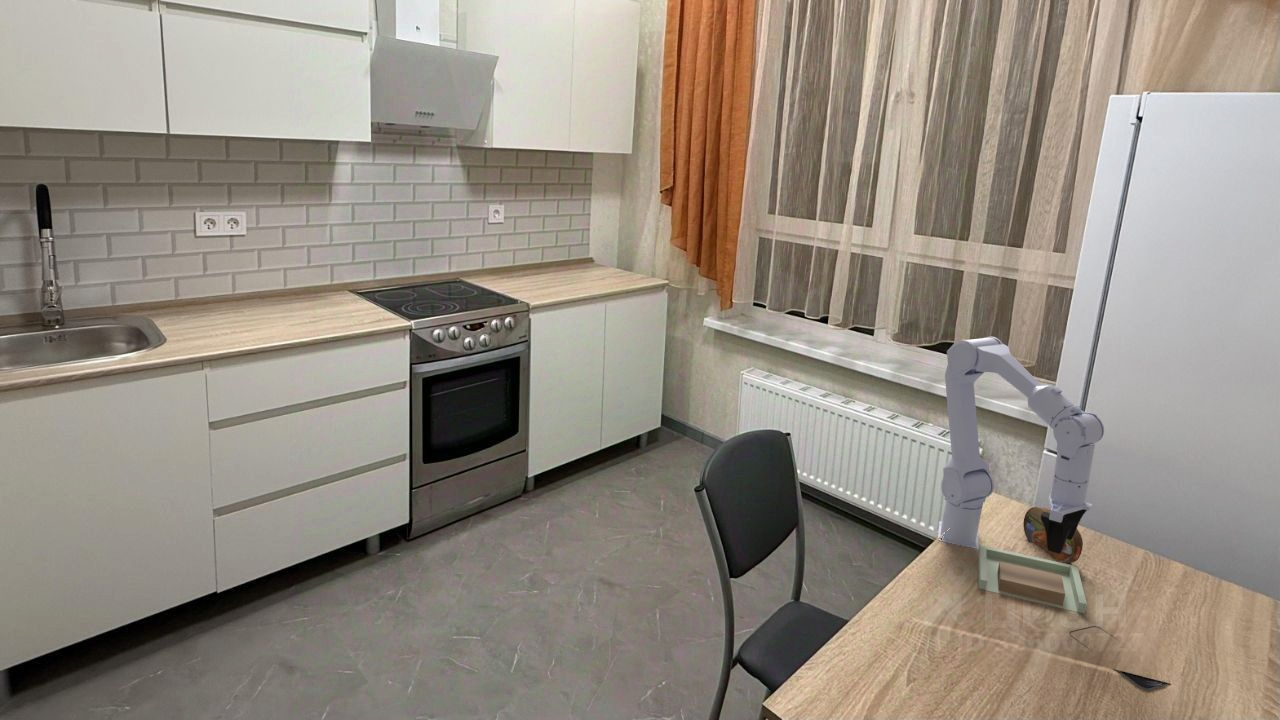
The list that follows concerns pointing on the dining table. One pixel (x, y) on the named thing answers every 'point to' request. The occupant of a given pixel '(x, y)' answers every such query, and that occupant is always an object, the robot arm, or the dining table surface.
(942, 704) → the dining table surface
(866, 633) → the dining table surface
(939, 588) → the dining table surface
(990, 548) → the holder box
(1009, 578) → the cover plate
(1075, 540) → the tin
